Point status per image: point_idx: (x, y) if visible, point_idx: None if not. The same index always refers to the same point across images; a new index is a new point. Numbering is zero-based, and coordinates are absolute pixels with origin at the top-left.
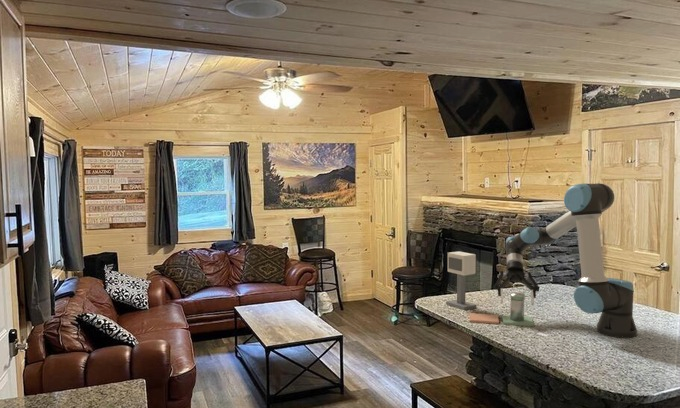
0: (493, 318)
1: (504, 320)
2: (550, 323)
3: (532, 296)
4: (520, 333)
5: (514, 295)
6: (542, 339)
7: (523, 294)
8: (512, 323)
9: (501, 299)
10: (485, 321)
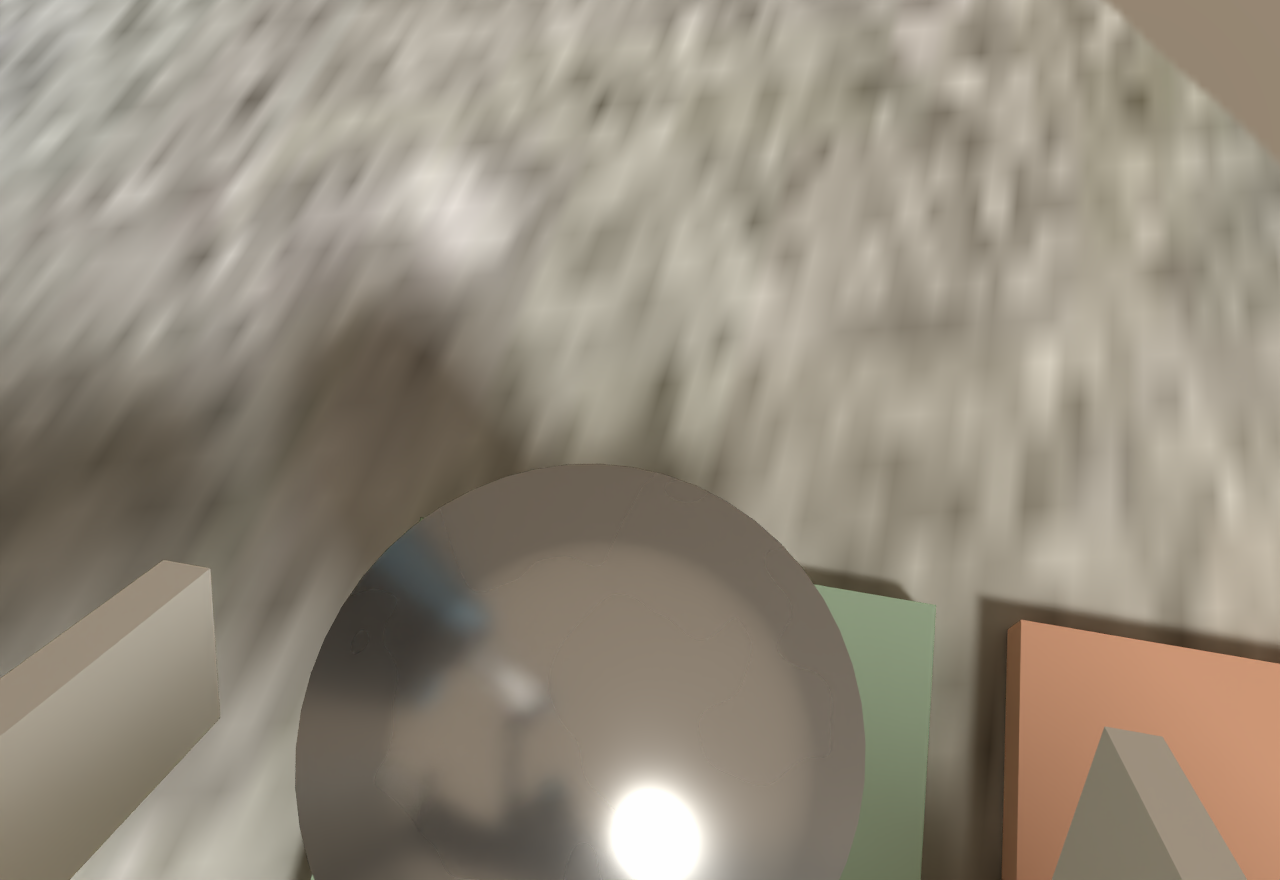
0: None
1: (902, 710)
2: None
3: (48, 677)
4: (738, 212)
5: (757, 528)
6: (530, 46)
7: (365, 644)
8: None
9: (1159, 752)
10: (1273, 666)
